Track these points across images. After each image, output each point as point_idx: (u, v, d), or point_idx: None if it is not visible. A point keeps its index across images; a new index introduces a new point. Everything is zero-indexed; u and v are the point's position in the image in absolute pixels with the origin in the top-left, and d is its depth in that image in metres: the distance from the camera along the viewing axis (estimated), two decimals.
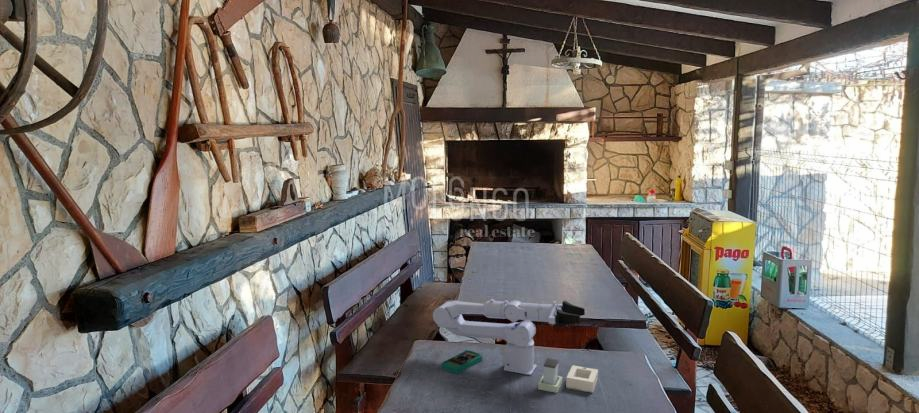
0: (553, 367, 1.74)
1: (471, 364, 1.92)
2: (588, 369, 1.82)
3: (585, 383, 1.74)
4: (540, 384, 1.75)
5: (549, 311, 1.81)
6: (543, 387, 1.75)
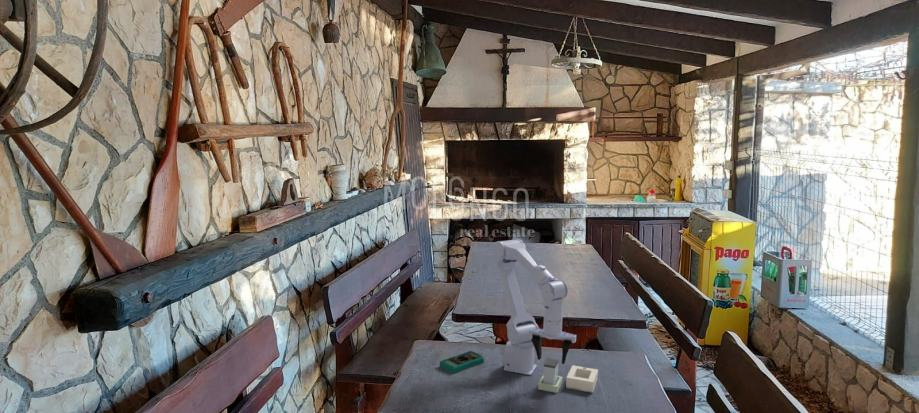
0: (553, 367, 1.74)
1: (470, 365, 1.91)
2: (588, 369, 1.82)
3: (585, 383, 1.74)
4: (540, 384, 1.75)
5: (543, 330, 1.75)
6: (543, 387, 1.75)
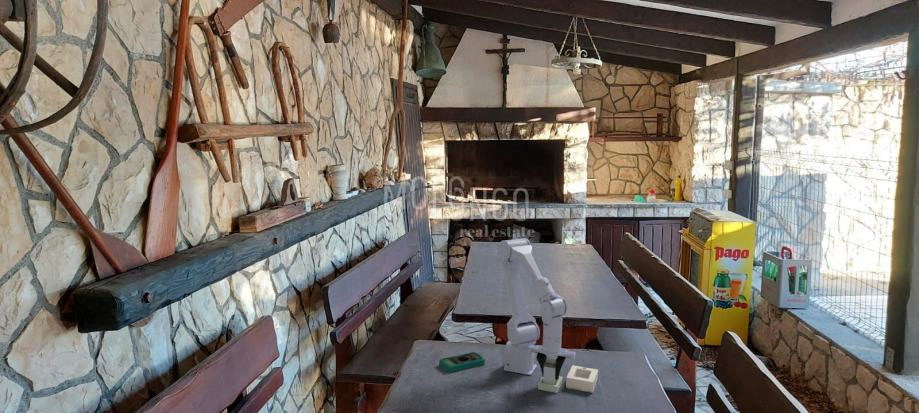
0: (553, 367, 1.74)
1: (469, 366, 1.90)
2: (588, 369, 1.82)
3: (585, 383, 1.74)
4: (540, 384, 1.75)
5: (543, 347, 1.76)
6: (543, 387, 1.75)
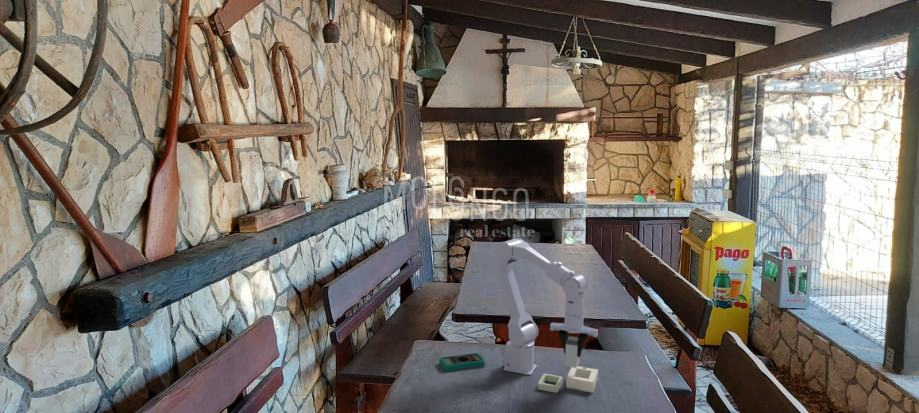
0: (575, 344, 1.74)
1: (467, 366, 1.90)
2: (588, 369, 1.82)
3: (585, 383, 1.74)
4: (540, 384, 1.75)
5: (565, 324, 1.76)
6: (543, 387, 1.75)
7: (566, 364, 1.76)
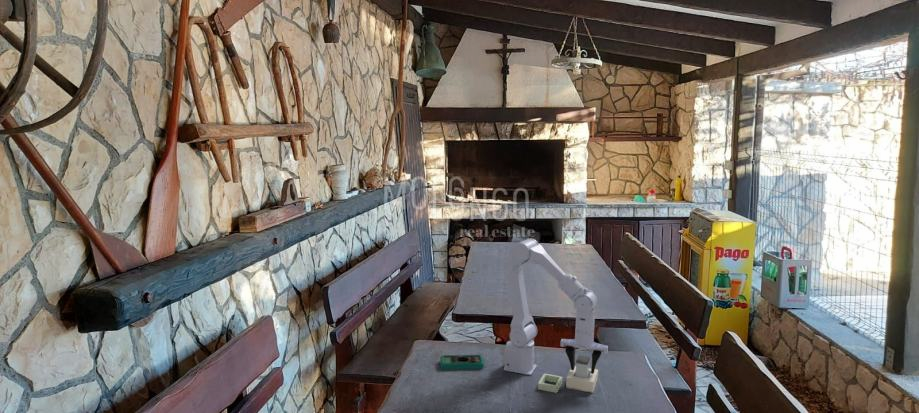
0: (586, 364, 1.76)
1: (465, 367, 1.89)
2: None
3: (585, 383, 1.74)
4: (540, 384, 1.75)
5: (575, 341, 1.77)
6: (543, 387, 1.75)
7: None
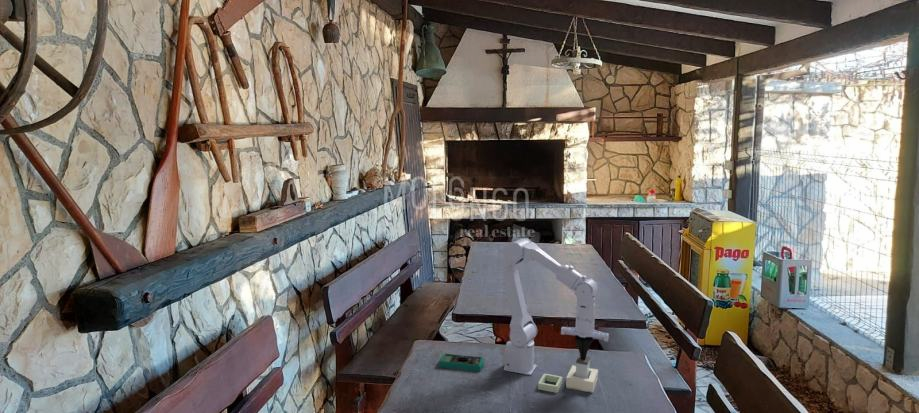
0: (586, 364, 1.76)
1: (461, 367, 1.89)
2: None
3: (585, 383, 1.74)
4: (540, 384, 1.75)
5: (576, 328, 1.77)
6: (543, 387, 1.75)
7: None
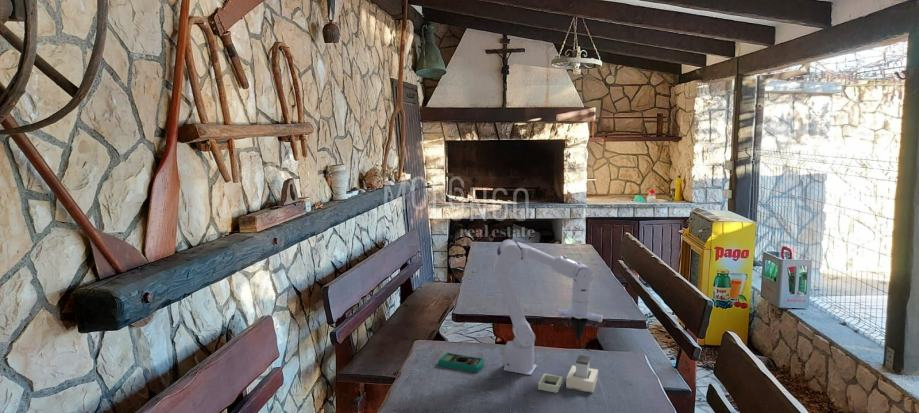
0: (586, 364, 1.76)
1: (459, 367, 1.89)
2: None
3: (585, 383, 1.74)
4: (540, 384, 1.75)
5: (572, 310, 1.88)
6: (543, 387, 1.75)
7: None
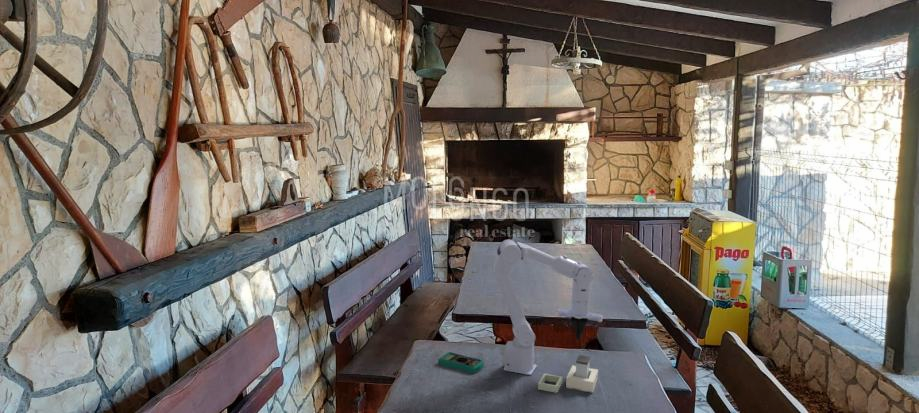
0: (586, 364, 1.76)
1: (458, 367, 1.89)
2: None
3: (585, 383, 1.74)
4: (540, 384, 1.75)
5: (571, 310, 1.88)
6: (543, 387, 1.75)
7: None
